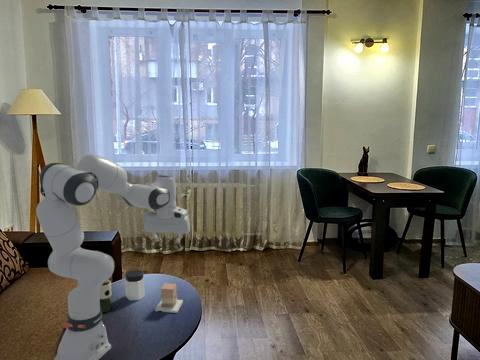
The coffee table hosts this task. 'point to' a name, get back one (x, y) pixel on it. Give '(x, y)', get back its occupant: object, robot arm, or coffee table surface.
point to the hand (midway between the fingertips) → (167, 241)
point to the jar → (134, 285)
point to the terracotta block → (168, 291)
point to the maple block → (169, 302)
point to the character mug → (105, 296)
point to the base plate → (166, 309)
